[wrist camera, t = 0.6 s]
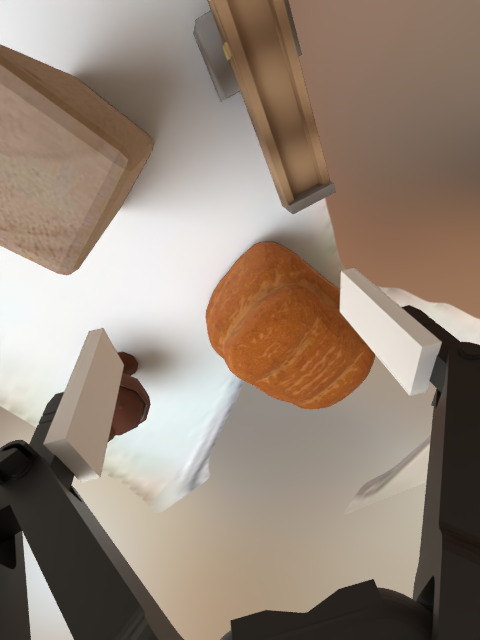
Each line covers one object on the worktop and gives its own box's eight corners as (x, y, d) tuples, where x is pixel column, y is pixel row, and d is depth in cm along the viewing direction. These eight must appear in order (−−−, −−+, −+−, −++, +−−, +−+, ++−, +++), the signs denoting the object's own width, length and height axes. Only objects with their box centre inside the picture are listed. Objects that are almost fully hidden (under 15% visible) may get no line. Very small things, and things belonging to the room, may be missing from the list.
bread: (263, 222, 41) (304, 272, 28) (354, 297, 51) (419, 362, 37) (192, 312, 47) (197, 390, 34) (286, 364, 57) (319, 441, 43)
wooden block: (67, 69, 30) (-72, 4, 13) (157, 141, 34) (137, 158, 18) (30, 160, 33) (-116, 197, 17) (117, 214, 38) (68, 285, 21)
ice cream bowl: (108, 395, 54) (87, 476, 42) (72, 351, 48) (34, 431, 35) (164, 376, 54) (159, 452, 41) (134, 330, 47) (119, 403, 35)
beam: (114, -160, 23) (84, -294, 16) (205, -227, 22) (218, -401, 15) (261, 202, 40) (280, 221, 32) (316, 173, 39) (348, 185, 32)
